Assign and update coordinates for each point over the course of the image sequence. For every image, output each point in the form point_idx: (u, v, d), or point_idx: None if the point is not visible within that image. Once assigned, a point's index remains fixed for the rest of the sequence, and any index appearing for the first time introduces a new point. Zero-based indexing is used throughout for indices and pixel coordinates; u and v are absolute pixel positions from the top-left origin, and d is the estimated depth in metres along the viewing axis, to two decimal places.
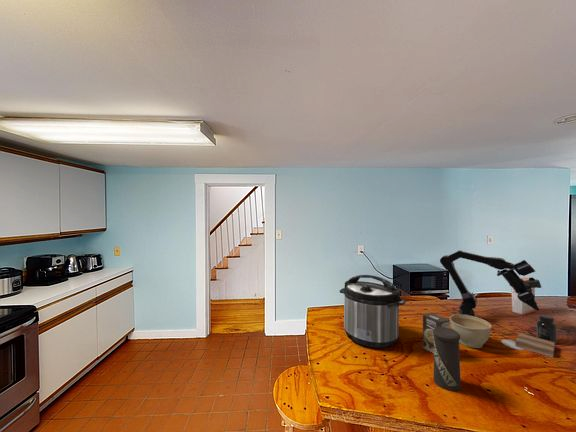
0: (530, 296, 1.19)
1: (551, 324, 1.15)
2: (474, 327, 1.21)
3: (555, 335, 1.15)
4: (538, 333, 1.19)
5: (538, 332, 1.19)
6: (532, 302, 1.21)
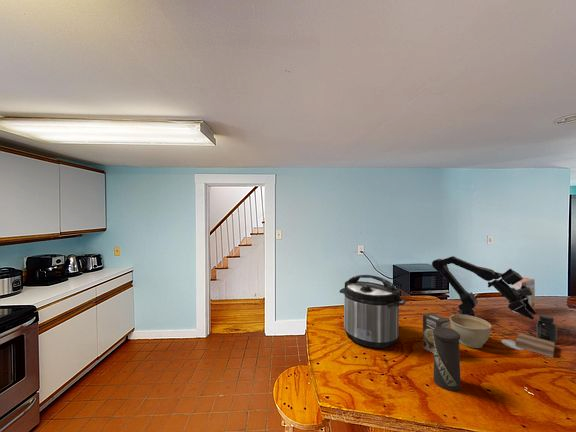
0: (519, 305, 1.19)
1: (551, 324, 1.15)
2: (474, 327, 1.21)
3: (555, 335, 1.15)
4: (538, 333, 1.19)
5: (538, 332, 1.19)
6: (525, 311, 1.19)
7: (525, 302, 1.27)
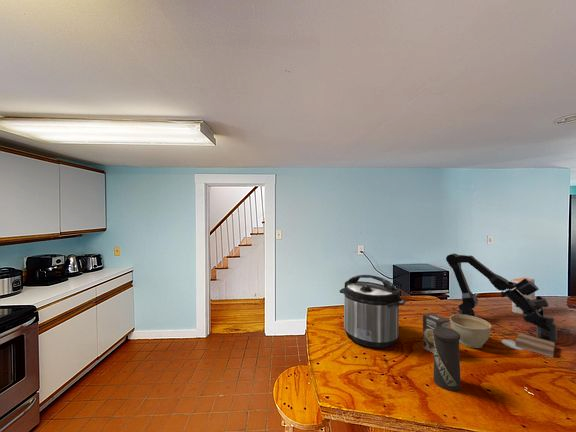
0: (535, 317, 1.14)
1: (551, 324, 1.15)
2: (474, 327, 1.21)
3: (555, 335, 1.15)
4: (538, 333, 1.19)
5: (538, 332, 1.19)
6: (541, 322, 1.16)
7: (540, 314, 1.22)
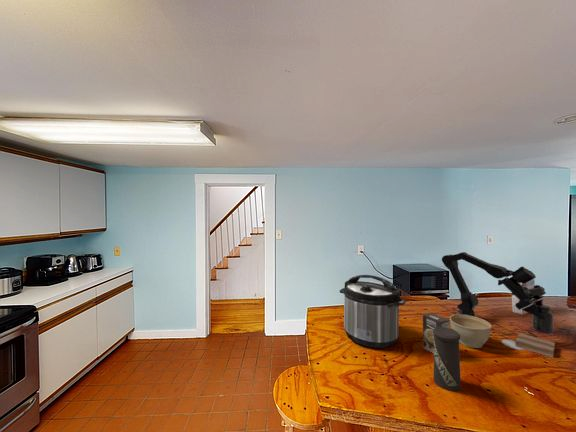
0: (526, 304, 1.13)
1: (546, 313, 1.13)
2: (474, 327, 1.21)
3: (550, 324, 1.12)
4: (533, 322, 1.17)
5: (533, 321, 1.17)
6: (534, 310, 1.14)
7: (538, 303, 1.19)
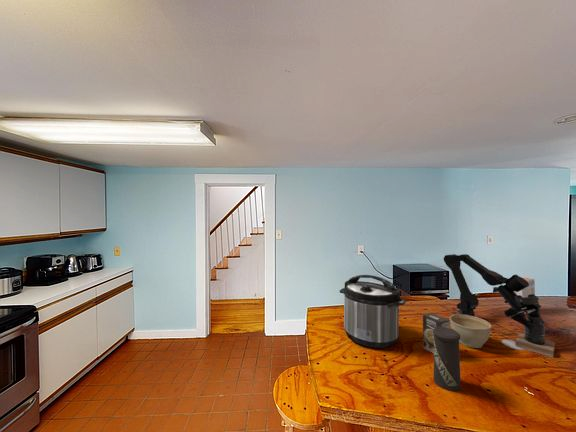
0: (513, 312, 1.13)
1: (536, 323, 1.11)
2: (474, 327, 1.21)
3: (540, 335, 1.10)
4: (524, 332, 1.15)
5: (524, 331, 1.15)
6: (523, 320, 1.12)
7: (535, 312, 1.16)
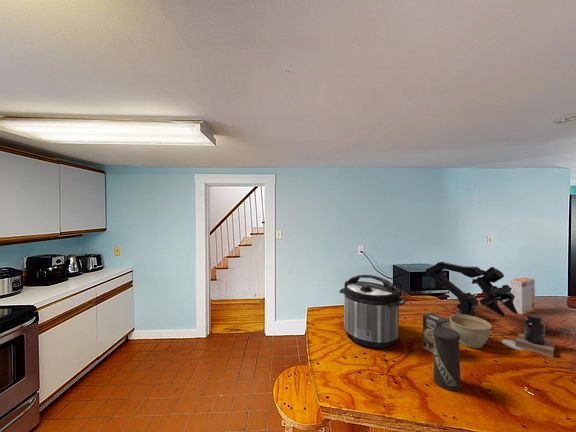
0: (487, 300, 1.24)
1: (536, 323, 1.11)
2: (474, 327, 1.21)
3: (540, 335, 1.10)
4: (524, 332, 1.15)
5: (524, 331, 1.15)
6: (496, 307, 1.24)
7: (508, 301, 1.27)
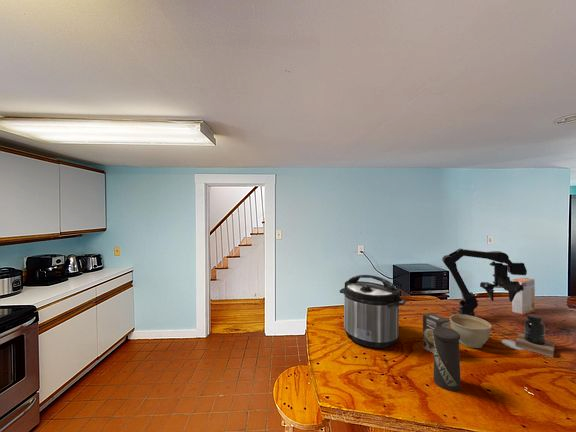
0: (484, 287, 1.36)
1: (536, 323, 1.11)
2: (474, 327, 1.21)
3: (540, 335, 1.10)
4: (524, 332, 1.15)
5: (524, 331, 1.15)
6: (490, 293, 1.37)
7: (512, 291, 1.34)
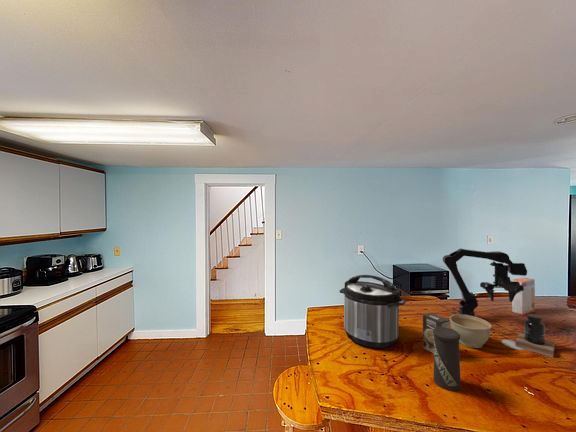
0: (484, 287, 1.36)
1: (536, 323, 1.11)
2: (474, 327, 1.21)
3: (540, 335, 1.10)
4: (524, 332, 1.15)
5: (524, 331, 1.15)
6: (490, 293, 1.37)
7: (512, 291, 1.34)
